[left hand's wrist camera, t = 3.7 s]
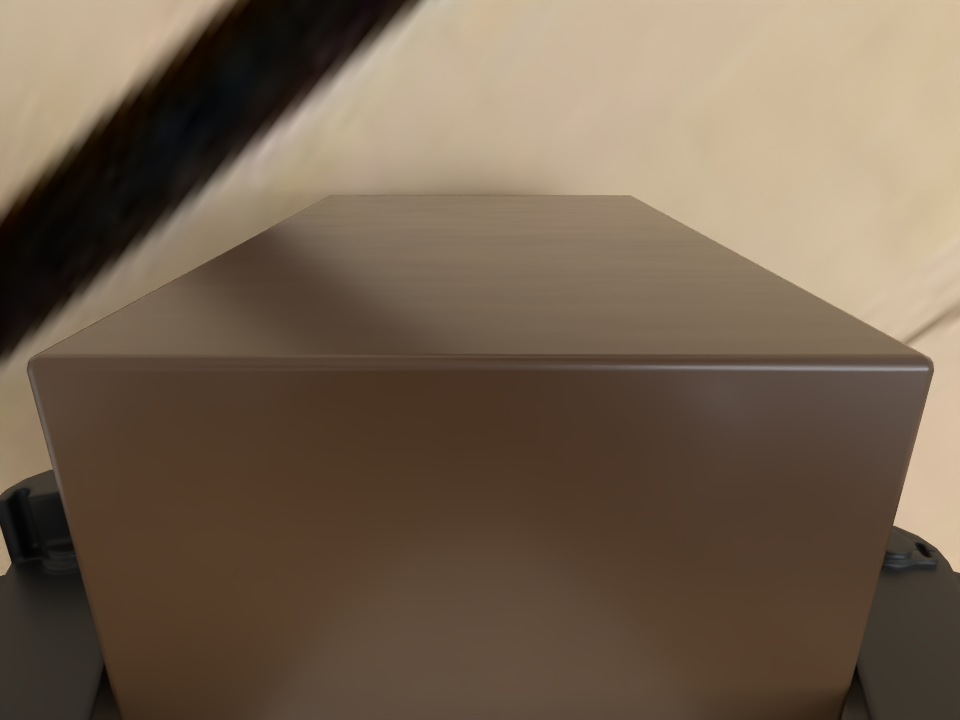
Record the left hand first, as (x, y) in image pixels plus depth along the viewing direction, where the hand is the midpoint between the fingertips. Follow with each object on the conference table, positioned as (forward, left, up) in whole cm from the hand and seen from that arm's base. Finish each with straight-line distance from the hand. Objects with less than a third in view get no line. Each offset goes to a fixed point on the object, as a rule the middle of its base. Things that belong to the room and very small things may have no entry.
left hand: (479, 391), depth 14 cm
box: (+10, 0, -1) cm, 10 cm away
